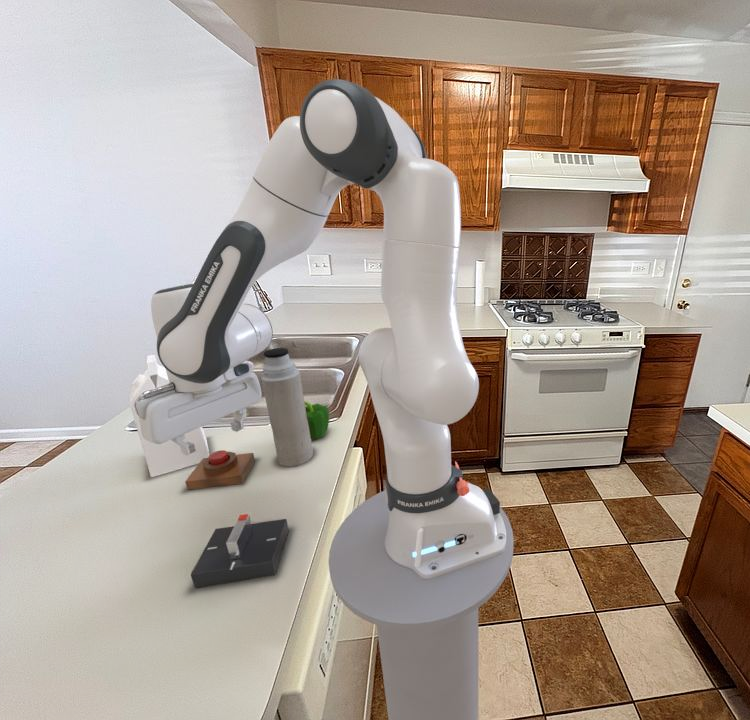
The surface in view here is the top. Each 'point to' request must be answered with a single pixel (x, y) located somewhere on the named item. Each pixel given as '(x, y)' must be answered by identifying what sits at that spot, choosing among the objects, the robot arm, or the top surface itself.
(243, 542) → the tap knob
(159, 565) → the top surface
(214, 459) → the button
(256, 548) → the tap base
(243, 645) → the top surface
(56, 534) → the top surface
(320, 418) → the bell pepper
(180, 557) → the top surface
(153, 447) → the milk
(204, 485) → the button block
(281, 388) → the thermos bottle
